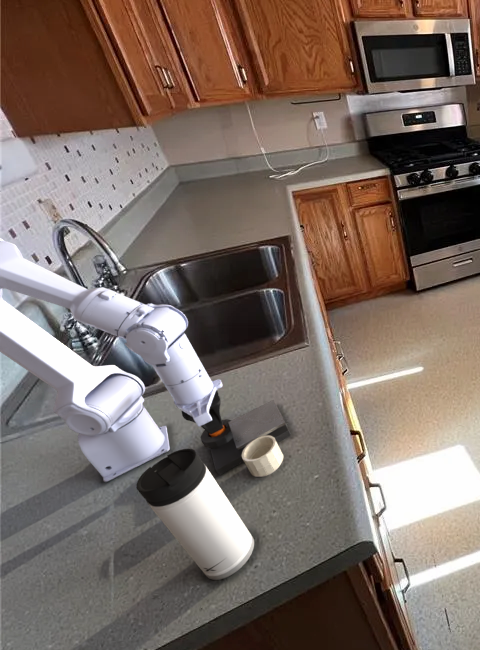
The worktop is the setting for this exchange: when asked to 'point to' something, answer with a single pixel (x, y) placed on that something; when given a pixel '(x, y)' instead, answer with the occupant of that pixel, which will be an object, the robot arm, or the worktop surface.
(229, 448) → the scale
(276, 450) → the cream hollow cylinder
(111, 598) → the worktop surface
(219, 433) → the tare button
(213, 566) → the travel mug
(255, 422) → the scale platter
